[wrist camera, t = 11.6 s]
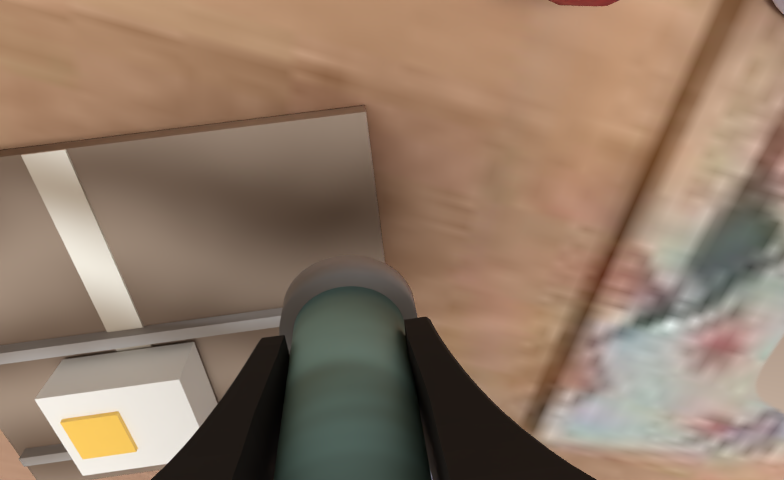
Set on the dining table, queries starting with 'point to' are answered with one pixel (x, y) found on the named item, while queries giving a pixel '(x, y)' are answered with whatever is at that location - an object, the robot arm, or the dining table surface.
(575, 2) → the red rounded piece
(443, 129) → the dining table surface
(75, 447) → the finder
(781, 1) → the spray bottle
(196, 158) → the board
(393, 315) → the teal round cylinder
